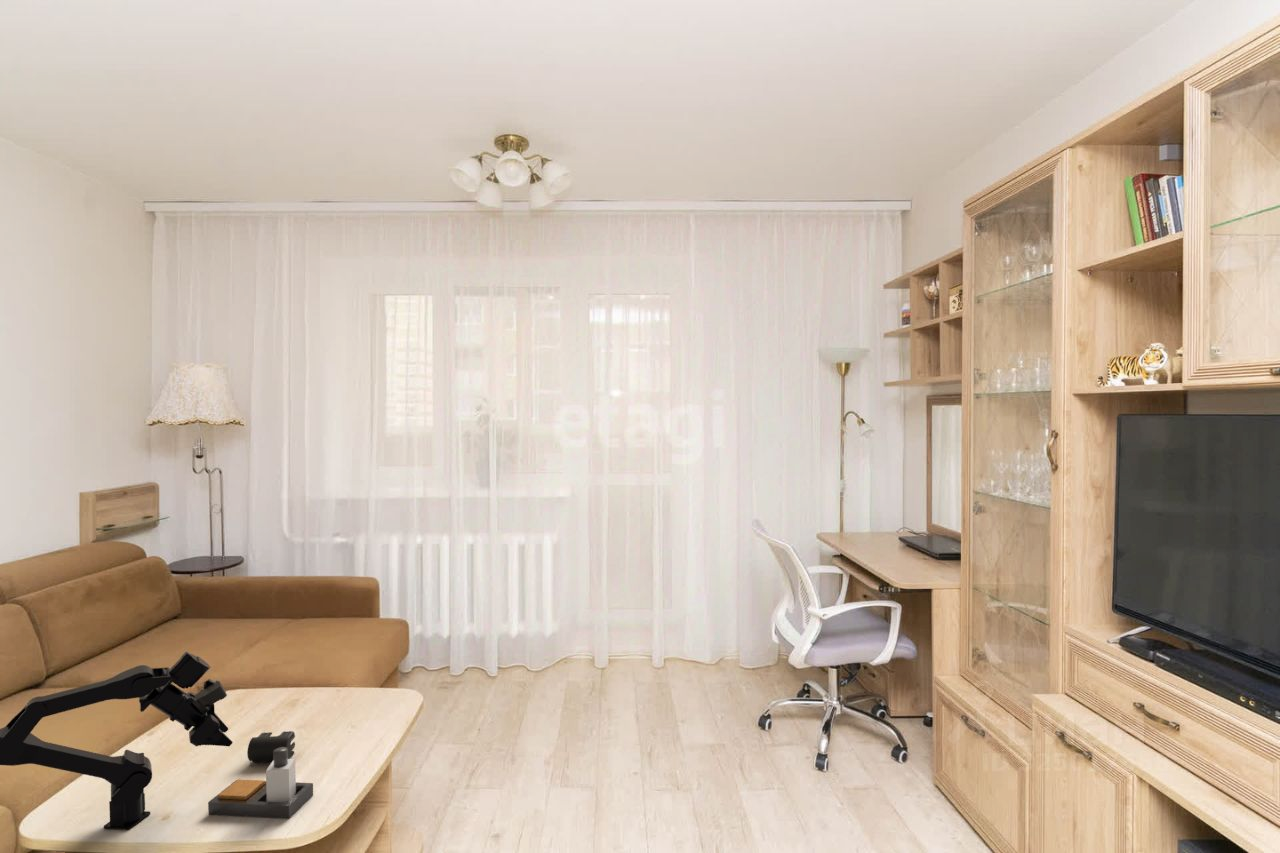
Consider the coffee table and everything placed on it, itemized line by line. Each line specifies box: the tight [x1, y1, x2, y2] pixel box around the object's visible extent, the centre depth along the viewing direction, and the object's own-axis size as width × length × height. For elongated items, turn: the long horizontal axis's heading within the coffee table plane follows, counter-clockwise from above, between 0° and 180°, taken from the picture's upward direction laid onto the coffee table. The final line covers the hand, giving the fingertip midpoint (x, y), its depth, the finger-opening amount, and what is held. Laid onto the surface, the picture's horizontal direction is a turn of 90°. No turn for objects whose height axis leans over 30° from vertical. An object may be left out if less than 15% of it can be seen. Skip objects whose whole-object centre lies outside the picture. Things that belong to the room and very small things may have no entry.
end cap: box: [247, 730, 296, 763], centre depth 192 cm, size 10×7×7 cm
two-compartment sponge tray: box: [207, 778, 314, 820], centre depth 170 cm, size 10×20×4 cm, turn 84°
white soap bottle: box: [265, 747, 297, 803], centre depth 169 cm, size 5×5×13 cm
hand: (229, 737), depth 175 cm, fingers open, 9 cm apart
